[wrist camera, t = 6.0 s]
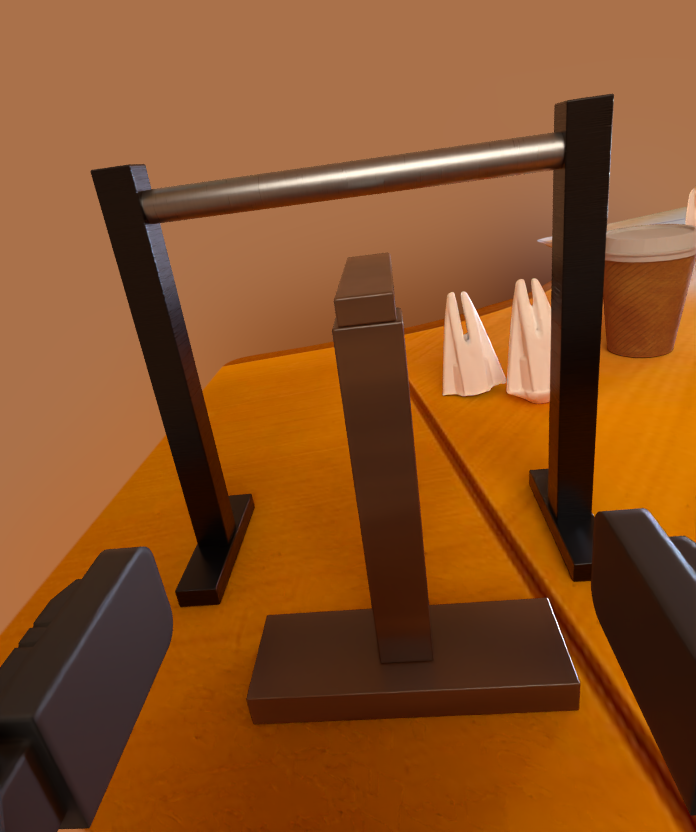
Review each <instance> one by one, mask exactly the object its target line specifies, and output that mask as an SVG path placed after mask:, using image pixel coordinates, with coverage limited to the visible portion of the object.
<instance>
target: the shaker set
mask: <svg viewBox="0 0 696 832" xmlns="http://www.w3.org/2000/svg"><path fill="white" fill-rule="evenodd" d="M531 286H532V295H533V305H532V306H531V305H530V302H529V298H528V294H527V289H526V285H525V282H524V280H523V279H520V280H518V281H517V282H516V286H515V291H514V299H513V306H512V316H511V327H510V340H509V353H508V371H507V379H506V378H505V375H504V373H503V371H502V370H503V369H502V368H501V364H499V360H498V357H497V356H496V354H495V352H494V349H493V347H492V345H491V342H490V340H489V338H488V334H487V333H486V331H485V329H484V327H483V325H482V322H481V320H480V318H479V316H478V313H477V311H476V309H475V307H474V305H473V303H472V302H471V300H470V298H469V296H468V294H467V293H466V292H462V293H461V300H462V305H463V309H464V315H465V319H466V327H467V331H468V332H467V333H466V334H465V335H463V330H462V326H461V321H460V316H459V312H458V307H457V302H456V298H455V294H454V293H453V292H451V293H449V294H448V296H447V302H446V312H445V325H444V347H443V393H442V394H443V396H444V395H447V394H448V395H449V394H452V395H453V394H458V395H460V396H467V395H476V394H481V393H482V392H486V391H489V390H491V388H492V387H493V386H495V385H498V384H501V383H502V384H505V382H506V380H507V389H506V391H507V393H508V394H511V395H515V396H518V397H520V398H523V399H526V400H528V401H530V402H532V403H537V404H542V403H546V402H550V351H551V307H550V304H549V302H548V300H547V297H546V295H545V292H544V290H543V289H542V287H541V285H540V283H539V281H538V280H537V279H535V278H533V279H532V281H531Z"/></svg>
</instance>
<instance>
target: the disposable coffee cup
mask: <svg viewBox="0 0 696 832" xmlns="http://www.w3.org/2000/svg"><path fill="white" fill-rule="evenodd" d="M695 260H696V226H693V225H683V224H656V225H643V226H632V227H626V228H619V229H614V230H610V231H607V233H606V251H605V270H604V288H603V300H604V301H603V302H604V314H605V326H606V338H607V349H608V350H609V351H610V352H612V353H615V354H618V355H621V356H629V357H655V356H660V355H664V354H667V353H669V352H671V351H672V350H673V347H674V343H675V339H676V335H677V331H678V327H679V324H680V319H681V315H682V312H683V308H684V303H685V300H686V296H687V291H688V287H689V284H690V280H691V276H692V272H693V268H694V264H695Z"/></svg>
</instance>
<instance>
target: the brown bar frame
mask: <svg viewBox="0 0 696 832" xmlns="http://www.w3.org/2000/svg"><path fill="white" fill-rule="evenodd" d="M334 306H335V313H336V318H335V322H334V326H333V329H332V333H333V341H334V348H335V355H336V362H337V369H338V376H339V383H340V389H341V396H342V403H343V410H344V417H345V424H346V431H347V438H348V445H349V452H350V459H351V466H352V473H353V480H354V487H355V494H356V500H357V507H358V514H359V521H360V528H361V535H362V542H363V549H364V556H365V563H366V570H367V577H368V584H369V591H370V598H371V605H372V609H360V610H344V611H328V612H312V613H296V614H280V615H267V618H266V622H265V626H264V630H263V634H262V638H261V642H260V646H259V650H258V654H257V658H256V662H255V666H254V670H253V674H252V678H251V682H250V686H249V690H248V694H247V699H246V700H247V703H248V707H249V710H250V714H251V718H252V721H253V724H269V723H292V722H316V721H339V720H362V719H386V718H409V717H432V716H456V715H479V714H502V713H526V712H549V711H573V710H579V698H580V681H579V679H578V676H577V673H576V671H575V668H574V666H573V663H572V660H571V658H570V655H569V652H568V650H567V647H566V644H565V642H564V639H563V637H562V634H561V631H560V629H559V626H558V623H557V621H556V618H555V616H554V613H553V610H552V608H551V605H550V602H549V600H548V598H537V599H521V600H505V601H489V602H472V603H456V604H440V605H429V600H428V589H427V578H426V567H425V556H424V545H423V534H422V523H421V513H420V502H419V491H418V480H417V469H416V458H415V447H414V436H413V425H412V414H411V403H410V392H409V381H408V370H407V359H406V349H405V338H404V327H403V318H402V311H401V308H396V306H395V296H394V286H393V276H392V267H391V257H390V253H381V254H373V255H365V256H357V257H349V258H347V262H346V265H345V268H344V271H343V274H342V277H341V280H340V283H339V286H338V289H337V292H336V295H335V298H334Z"/></svg>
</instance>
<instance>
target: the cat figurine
mask: <svg viewBox="0 0 696 832" xmlns="http://www.w3.org/2000/svg"><path fill="white" fill-rule="evenodd" d="M686 225H693V226H696V187H695V188H694V189H692V191H691V193H690V194H689V200H688V207H687V214H686Z"/></svg>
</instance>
